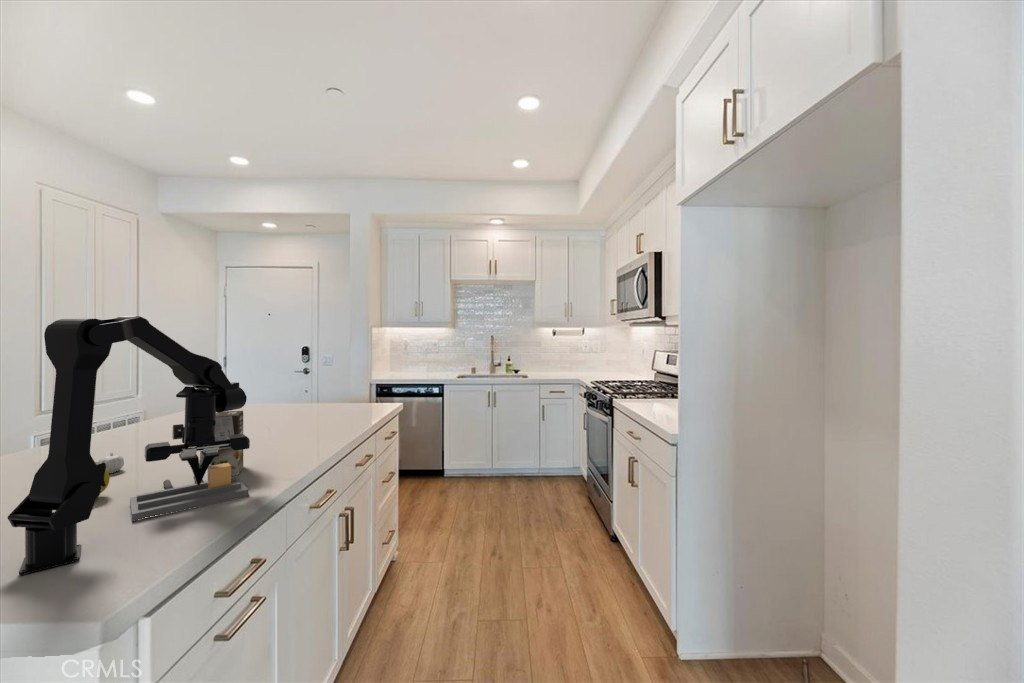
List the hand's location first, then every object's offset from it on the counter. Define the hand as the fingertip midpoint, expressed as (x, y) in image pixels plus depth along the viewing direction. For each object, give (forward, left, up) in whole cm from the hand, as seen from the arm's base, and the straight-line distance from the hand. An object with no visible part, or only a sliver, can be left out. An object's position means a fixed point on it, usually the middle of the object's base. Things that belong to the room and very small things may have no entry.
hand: (198, 484), depth 96 cm
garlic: (+40, +14, -3) cm, 43 cm away
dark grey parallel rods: (+11, +1, -3) cm, 11 cm away
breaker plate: (0, +1, -3) cm, 3 cm away
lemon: (+17, +17, -3) cm, 24 cm away
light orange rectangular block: (0, -4, -1) cm, 4 cm away
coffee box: (+18, -9, -3) cm, 20 cm away
